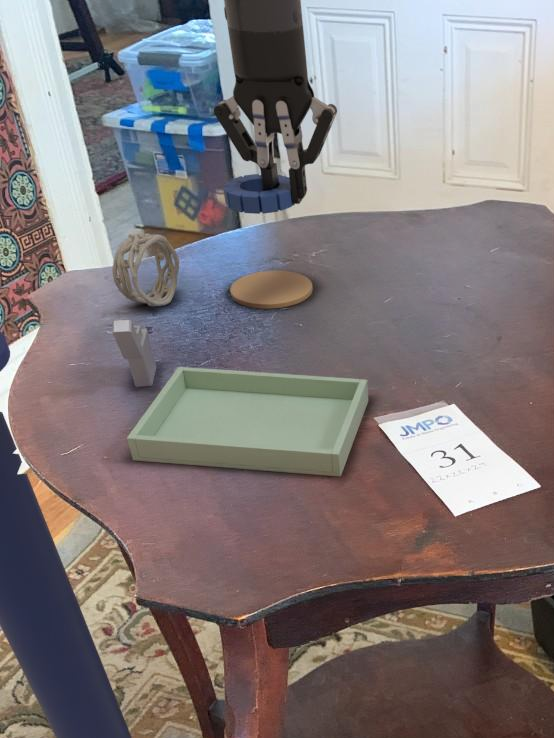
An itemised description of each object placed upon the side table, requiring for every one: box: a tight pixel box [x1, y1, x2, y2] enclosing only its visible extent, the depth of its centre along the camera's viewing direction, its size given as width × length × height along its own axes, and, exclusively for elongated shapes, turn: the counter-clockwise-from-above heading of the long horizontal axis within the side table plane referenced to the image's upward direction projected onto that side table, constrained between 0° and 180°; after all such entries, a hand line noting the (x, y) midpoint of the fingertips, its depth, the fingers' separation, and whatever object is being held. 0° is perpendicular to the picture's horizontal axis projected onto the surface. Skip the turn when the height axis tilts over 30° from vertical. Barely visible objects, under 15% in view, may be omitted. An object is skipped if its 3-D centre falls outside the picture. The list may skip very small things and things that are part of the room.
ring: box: [222, 173, 296, 215], centre depth 97 cm, size 8×8×2 cm
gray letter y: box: [111, 319, 157, 388], centre depth 85 cm, size 7×2×8 cm, turn 8°
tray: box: [126, 366, 369, 477], centre depth 81 cm, size 19×13×2 cm
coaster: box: [229, 270, 314, 310], centre depth 105 cm, size 10×10×1 cm
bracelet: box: [112, 232, 180, 307], centre depth 100 cm, size 4×8×8 cm, turn 157°
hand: (286, 200), depth 97 cm, fingers closed on ring, 2 cm apart
